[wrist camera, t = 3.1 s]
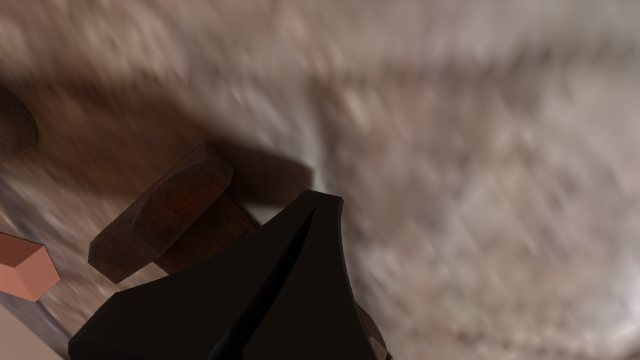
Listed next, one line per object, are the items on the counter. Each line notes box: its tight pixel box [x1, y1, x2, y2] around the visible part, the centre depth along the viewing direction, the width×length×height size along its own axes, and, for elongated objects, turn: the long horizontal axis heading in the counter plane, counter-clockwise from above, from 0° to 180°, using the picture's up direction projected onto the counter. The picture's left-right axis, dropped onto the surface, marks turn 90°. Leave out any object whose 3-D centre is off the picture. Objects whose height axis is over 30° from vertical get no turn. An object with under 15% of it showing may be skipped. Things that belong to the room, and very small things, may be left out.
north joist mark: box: [0, 233, 60, 302], centre depth 21 cm, size 3×5×2 cm, turn 85°
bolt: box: [88, 142, 390, 360], centre depth 14 cm, size 6×5×15 cm
